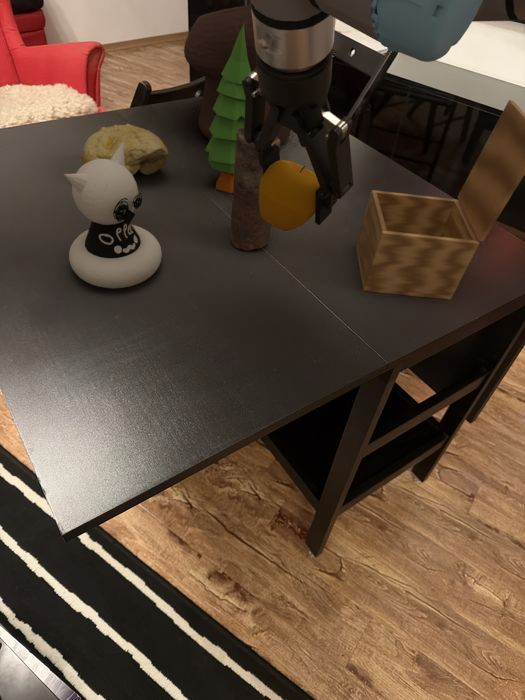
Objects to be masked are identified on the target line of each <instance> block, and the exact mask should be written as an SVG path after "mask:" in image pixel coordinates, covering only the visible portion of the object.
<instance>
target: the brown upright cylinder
mask: <svg viewBox="0 0 525 700" xmlns="http://www.w3.org/2000/svg"><path fill="white" fill-rule="evenodd" d="M276 138H277V137H276ZM274 144H276V145H278V146H279V149H280V147H281V145H280V140H279V138H277V139H276V140H275V141H274V142H273V143H272V144H271V146H273V145H274ZM262 176H263V168H261V166H260V164H259V155H258V152H257V151H256V150H255V145H254V144H253V143H251V144H248V143H247V142H246V141H245V139H244V127H241V128H239V129H238V130H237V133H236V153H235V169H234V187H233V193H232V202H231V215H230V216H231V217H230V235H229V237H230V240H231V245H232V246H233V247H235V248H236V249H239V250H243V251H252V250H256V249H257V250H258V249H262V248H263V247H265V246H266V245H267V244H268V243H269V240H270V235H271V228H272V227H271V226H272V225H270V224H269V223H267V222H265V221H264V220H263V219H262V217H261V214H260V208H259V185H260V181H261V178H262Z"/></svg>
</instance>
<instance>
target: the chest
mask: <svg viewBox="0 0 525 700" xmlns="http://www.w3.org/2000/svg"><path fill="white" fill-rule="evenodd" d="M367 202H368V203H367V206H366V210H365V212H364V216H363V219H362V224H361V227H360V230H359V233H358V236H357V240H356V244H355V249H356V250H355V251H356V256H357V261H358V266H359V273H360V277H361V284H362V289H363V292H371V293H380V294H391V295H400V296H409V297H410V296H411V297H419V298H429V299H438V300H439V299H440V300H448V301H451V300H452V298H453V296H454V295H455V292H456V291H457V289H458V286H459V284H460V283H461V280H462V279H463V276H464V274H465V272H466V270H467V269H468V267H469V265H470V263H471V261H472V259H473V257H474V255H475V253H476V251H477V249H478V247H479V246H480V242H479V240H478V238H477V236H476V234H475V232H474V230H473V228H472V226H471V224H470V222H469V220H468V218H467V216H466V213H465V211H464V209H463V207H462V205H461V203H460V201H459V199H455V198H445V197H437V196H430V195H429V196H428V195H419V194H410V193H401V192H393V191H386V190H385V191H384V190H383V191H382V190H376V189H375V190H374V189H372V190H371V192H370V195H369V199H368V201H367Z"/></svg>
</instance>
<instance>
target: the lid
mask: <svg viewBox="0 0 525 700" xmlns="http://www.w3.org/2000/svg"><path fill="white" fill-rule="evenodd" d="M493 127H494V128H493V129H492V131H491V133H490V134H489V136H488V139H487V140H486V142H485V143H484V146H483V148H482V150H481V151H480V153H479V155H478V157H477V159H476V161H475V163H474V165H473V167H472V169H471V170H470V172H469V174H468V176H467V178H466V180H465V182H464V184H463V186H462V187H461V189H460V191H459V192H458V195H457V200H458V201H459V203H460V205H461V207H462V209H463V211H464V213H465V215H466V217H467V219H468V221H469V223H470V225H471V227H472V229H473V231H474V233H475V236H476V238H477V240H478V242H479V241H480V242H484V241H485V239H486V237H487V236H488V234H489V233H490V231H491V230H492V228H493V226H494V225H495V223H496V221H497V220H498V218H499V217H500V215H501V214H502V212H503V210H504V208H505V207H506V205H507V204H508V202H509V201H510V199H511V197H512V196H513V194H514V192H515V191H516V190H517V188H518V186H519V184H520V183H521V181H522V180H523V178H524V176H525V112H524V111H523V109H522V108H520V106H519V105H518V104H517V103H516V101H514V100H512V99H509V100H508V101H507V103H506V105H505V107H504V108H503V110H502V113H501V114H500V116H499V118H498V119H497V121H496V124H495V125H494V126H493Z"/></svg>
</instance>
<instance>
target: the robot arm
mask: <svg viewBox="0 0 525 700" xmlns="http://www.w3.org/2000/svg"><path fill="white" fill-rule="evenodd" d="M249 2H250V5H251V11H252V20H253V30H254V39H255V49H256V52H257V53H256V62H257V68H256V69H255V70H254V71H252V72H251V73H250V74H249V75H248V76H247V77H246V78H245V79H243V80H242V86H243V90H244V94H245V122H244V139H245V141H246V142H247V143H248V144H251V143H253V144H254V145H255V150H256V151H257V152H258V155H259V164H260V166H261V168H263V175H264V173H265V172H266V170H267V169H268V167H269V166H270V165H272V164H273V163H275V162H276V161H277V160H281V158H280V157H281V156H280V148H279V146H278V145H276V144H274V145H273V146H271V144H272V143H273V142H274V141H275V140H276V139H277V138H276V136H277V134H278V132H279V131H280V129H281V127H282V126H284V127H286V128H289V129H291V130H290V131H291V132H293V133H294V134H296V137H297V140H298V143H299V144H300V147H302V148H304V149H305V150H306V153H307V155H308V158H309V161H310V164H311V167H312V169H313V172H314V173H315V175H316V177H317V180H318V183H319V185H320V187H319V188H318V189H317V190H316V204H315V214H314V223H315V224H316V225H318V226H321V225H322V223H323V222H324V221H325V220H326V219H327V218H328V217H329V216H330V215H331V214H332V211H333V206H334V205H336V203H337V202H338V200H341V199H342V198H343V197H344V196H345V195H346V194H347V193H348V192H349V190H350V189H352V187H353V186H354V175H353V163H352V153H351V152H352V151H351V142H350V134H351V130H352V128H353V120H352V118H351V117H350V116H348V115H344V116H343V117H342V118H341V119H340V118H339V117H337V116H336V115H335V114H333V113H332V111H331V106H330V104H329V100H328V95H329V90H330V88H331V83H332V76H333V75H332V73H333V57H334V56H333V55H334V49H333V47H334V42H335V24H336V20H338V21H340V22H341V23H343V24H345V25H347V26H349V27H351V28H353V29H354V30H356V31H358V32H359V33H362V34H363V35H365V36H367V37H368V38H371V39H373V40H374V41H376V42H378V43H380V44H381V46H383V47H385V48H387V50H389V51H391V52H392V53H397V54H398V53H399V54H402V55H405V56H408V57H411V58H413V59H416V60H418V61H420V62H424V63H430V62H435V61H439V59H442V58H443V57H444V56H446V55H447V54H448V53H449V52H450V50H451V48H452V47H454V46H456V45H457V44H458V43H459V42H460V41H461V39H462V38H463V36H464V35H465V34H466V33H467V31H468V29H469V27H470V26H471V24H472V23H474V22H515V21H525V0H250V1H249ZM266 100H267V102H268V104H269V105H270V109H269V113H268V115H267V118H266V120H265V122H266V123H265V126H264V115H265V105H266ZM263 126H264V128H263Z"/></svg>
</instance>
